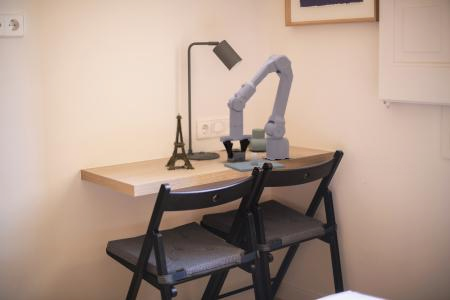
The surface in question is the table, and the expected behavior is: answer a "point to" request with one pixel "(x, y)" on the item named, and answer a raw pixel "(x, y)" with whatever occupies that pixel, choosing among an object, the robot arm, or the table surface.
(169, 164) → the eiffel tower
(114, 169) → the table surface
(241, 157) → the dark grey square block
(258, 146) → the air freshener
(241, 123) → the robot arm
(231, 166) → the piston stand
